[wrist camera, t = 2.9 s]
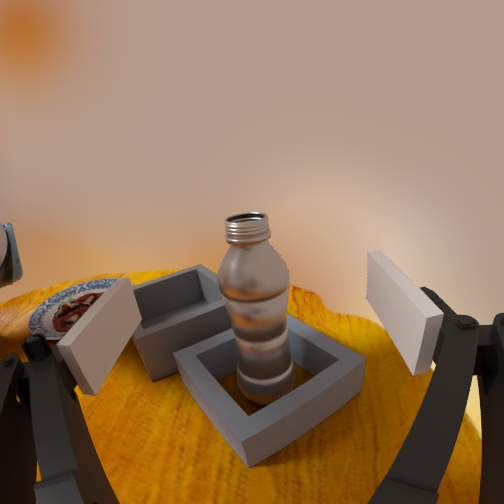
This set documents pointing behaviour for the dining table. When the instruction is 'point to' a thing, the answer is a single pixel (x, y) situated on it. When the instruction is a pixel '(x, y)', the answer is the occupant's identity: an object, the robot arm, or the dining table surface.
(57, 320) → the ceramic plate
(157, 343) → the bin
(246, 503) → the dining table surface
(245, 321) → the plastic bottle
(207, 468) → the dining table surface
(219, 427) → the bottle holder
